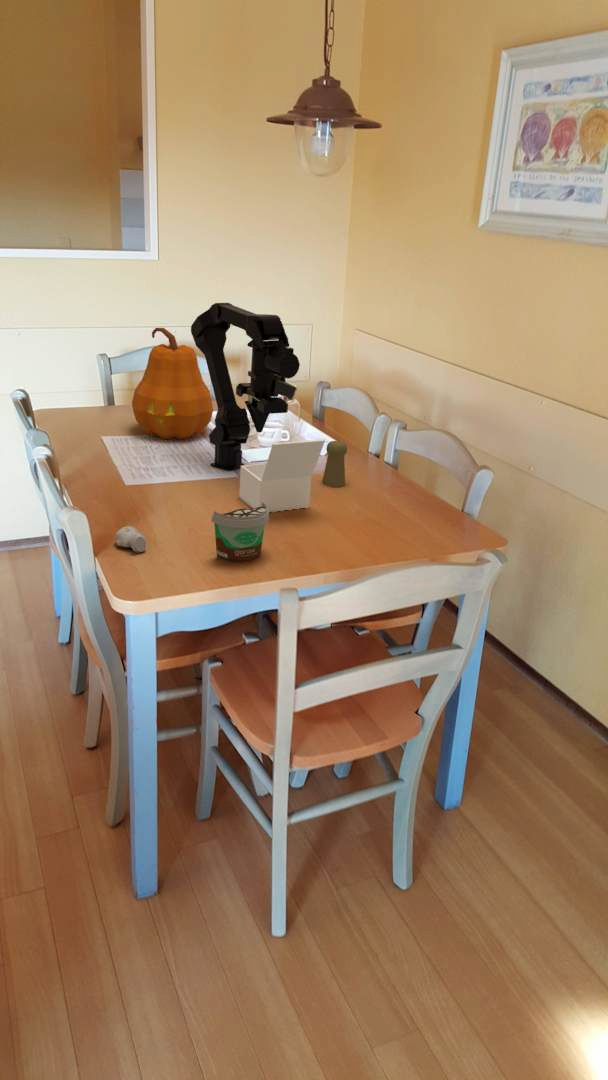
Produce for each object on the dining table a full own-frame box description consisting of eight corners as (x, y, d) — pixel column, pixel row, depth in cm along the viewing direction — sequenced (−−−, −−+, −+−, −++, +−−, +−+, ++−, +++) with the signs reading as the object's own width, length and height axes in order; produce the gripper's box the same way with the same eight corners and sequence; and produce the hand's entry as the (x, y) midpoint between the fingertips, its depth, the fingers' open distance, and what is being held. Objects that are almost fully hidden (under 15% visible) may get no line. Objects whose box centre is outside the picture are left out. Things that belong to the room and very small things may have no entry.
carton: (239, 497, 194) (240, 465, 191) (288, 492, 200) (290, 461, 197) (258, 514, 185) (260, 480, 182) (309, 508, 191) (311, 475, 188)
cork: (343, 488, 205) (347, 446, 201) (319, 485, 206) (323, 443, 202) (347, 481, 211) (351, 440, 207) (324, 478, 212) (327, 437, 208)
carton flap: (272, 443, 174) (273, 444, 174) (324, 439, 180) (325, 440, 180) (261, 479, 182) (262, 480, 182) (311, 474, 188) (311, 475, 187)
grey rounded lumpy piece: (114, 547, 166) (136, 536, 168) (128, 561, 160) (151, 550, 162) (107, 529, 164) (130, 518, 166) (121, 543, 158) (145, 532, 160)
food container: (226, 570, 157) (227, 522, 153) (210, 558, 162) (211, 511, 158) (278, 558, 164) (282, 511, 160) (262, 547, 169) (264, 501, 165)
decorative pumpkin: (117, 437, 232) (114, 330, 220) (154, 418, 253) (154, 319, 241) (193, 449, 226) (195, 340, 215) (225, 429, 247) (228, 328, 236)
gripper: (310, 377, 191) (305, 441, 197) (277, 359, 206) (273, 419, 212) (266, 378, 186) (262, 444, 192) (236, 360, 201) (233, 422, 207)
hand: (259, 432), depth 201 cm, fingers closed
